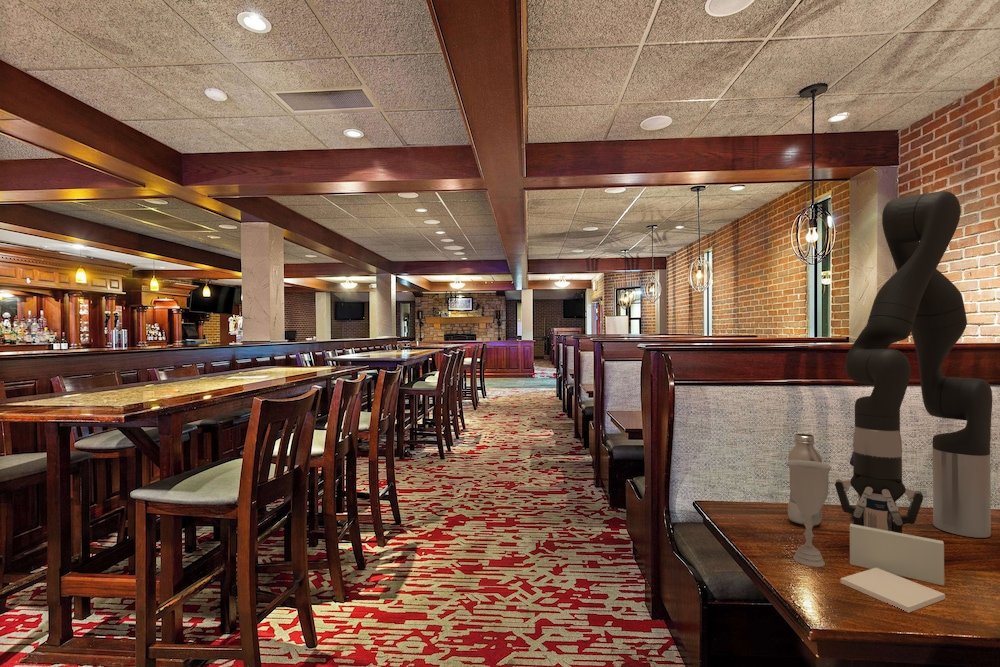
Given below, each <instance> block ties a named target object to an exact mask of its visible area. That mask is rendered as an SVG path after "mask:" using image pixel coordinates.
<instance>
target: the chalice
mask: <svg viewBox="0 0 1000 667" xmlns="http://www.w3.org/2000/svg"><path fill="white" fill-rule="evenodd" d="M786 464H787V466H788V468H789V492H790V491H791V493H792V496H793V499H794V500H795V502H796V504H797V506H798V508H799V510H800V511H801V512H803V513H805V516H806V520H805V523H804V525H803V526H804V527H805V531H804V532H803V533H802V534H803V535H804V537H805V542H804V543H803V544H802V545H800V546H799V547H797V550H796V551H795V554H794V556H793V560H794V561H796V562H797V563H799V564H801V565H804V566H808V567H817V568H818V567H819V568H820V567H824V566H825V565H826V562H825V561H824V558H823V556H822V554H821V551H820V550H819V549H818V548H817V547H815V546H814V544H813V538H814V537H815V534H814V533H813V531H812V530H813V527H815V526H814V525H813V523H812V515H814V514H818V512H819V511H820V509H821V510H822V507H823V506H824V505H825V503H826V500H827V498H828V496H829V473H830V472H831V469H833V468H832V465H830V464H827V463H823V462H822V463H820V462H815V461H806V460H789V461H788V460H786Z"/></svg>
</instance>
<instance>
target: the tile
mask: <svg viewBox="0 0 1000 667" xmlns="http://www.w3.org/2000/svg"><path fill="white" fill-rule="evenodd" d="M840 584H842V585H844V586H847V587H849V588H851V589H853V590H856V591H858V592H860V593H862V594H865V595H867V596H870V597H871V598H873V599H877V600H879V601H880V602H883V603H886V604H887V603H888V604H887V605H890V606H892V605H893V606H892V607H894V606H895V607H894V608H897V607H898V608H897V609H899V608H900V609H899V610H901V609H902V610H901V611H903V610H904V612H906V613H908V614H909V613H911V612H915V611H917V610H920V609H923V608H925V607H927V606H930V605H933V604H936V603H939V602H941V601H943V600H946V593H943V592H940V591H938V590H936V589H933V588H931V587H928V586H925V585H922V584H920V583H917V582H915V581H913V580H909V579H907V578H906V577H903V576H899V575H895V574H892V573H889V572H887V571H884V570H881V569H879V568H873V569H866V570H864V571H859V572H857V573H853V574H850V575H847V576H844V577H841V578H840Z"/></svg>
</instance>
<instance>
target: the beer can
mask: <svg viewBox="0 0 1000 667" xmlns="http://www.w3.org/2000/svg"><path fill="white" fill-rule="evenodd" d="M865 498H866V497H865ZM887 501H888V500H886V499H885V498H884V496H883V495H882V494H875V493H872V494H871V496H868V497H867V498H866V507H865V509H864V511H863V513H862V526H865V527H871V528H876V529H881V530H887V531H892V532H893V521H894V520H893V517H892V515H891V513H890V511H889V508H888V506H887ZM863 502H864V501H863ZM889 502H890V501H889Z"/></svg>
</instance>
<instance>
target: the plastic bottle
mask: <svg viewBox="0 0 1000 667" xmlns="http://www.w3.org/2000/svg"><path fill="white" fill-rule="evenodd" d="M793 442H794V443H795V445H794V446H793V447H792V449H791V450H790V452H788V455H787V461H789V460H806V461H815V462H820V463H823V459H822V457H821V456H822V455H821V454H820V453H819V451H818V450H817V449H816V448H815V446H814V445H815V444H816V443H815V436H814V434H810V433H795V434H794V440H793ZM787 516H788V518H789V519H790V521H791V522H793V523H796V524H798V525H802V526H805V525H804V523H805V520H806V516H805V513H803V512H801V511H800V510H799V508H798V506H797V504H796V502H795V500H794V499H793V496H792V493H791V491H790V490H789V501H788V504H787ZM822 516H823V512H822V508H821V509H820V511H819V512H818V514H814V515H812V523H813V525H814V526H813V527H815V526H818V525H819V524H821V522H822V518H823V517H822Z"/></svg>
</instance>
